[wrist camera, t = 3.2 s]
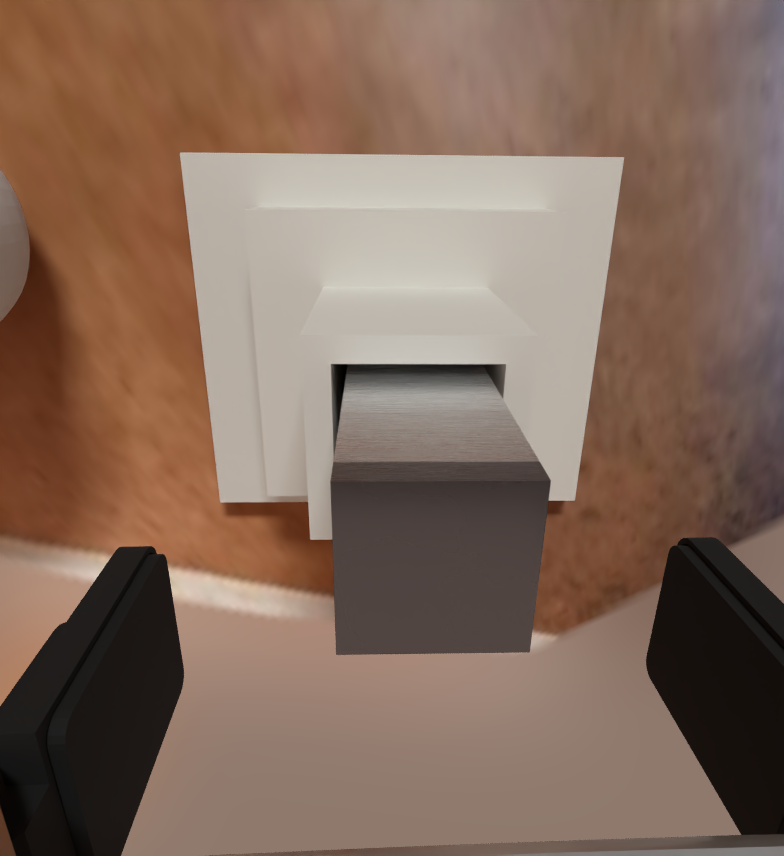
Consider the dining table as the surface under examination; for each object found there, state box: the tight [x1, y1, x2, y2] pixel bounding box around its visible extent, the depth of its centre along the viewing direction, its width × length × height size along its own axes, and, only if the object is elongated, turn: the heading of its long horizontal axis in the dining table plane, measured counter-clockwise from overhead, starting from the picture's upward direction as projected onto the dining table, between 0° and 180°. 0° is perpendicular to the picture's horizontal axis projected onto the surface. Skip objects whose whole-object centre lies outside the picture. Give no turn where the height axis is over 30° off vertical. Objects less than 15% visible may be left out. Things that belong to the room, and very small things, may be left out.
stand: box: [180, 153, 624, 540], centre depth 22 cm, size 18×16×13 cm
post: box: [330, 364, 551, 655], centre depth 19 cm, size 4×4×17 cm
